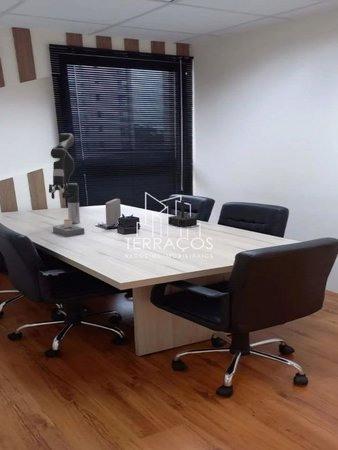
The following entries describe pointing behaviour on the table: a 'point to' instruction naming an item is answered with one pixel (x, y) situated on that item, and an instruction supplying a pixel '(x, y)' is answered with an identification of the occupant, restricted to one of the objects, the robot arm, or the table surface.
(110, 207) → the network device
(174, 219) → the dark pedestal with post
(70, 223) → the lever
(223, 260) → the table surface
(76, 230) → the switch panel
